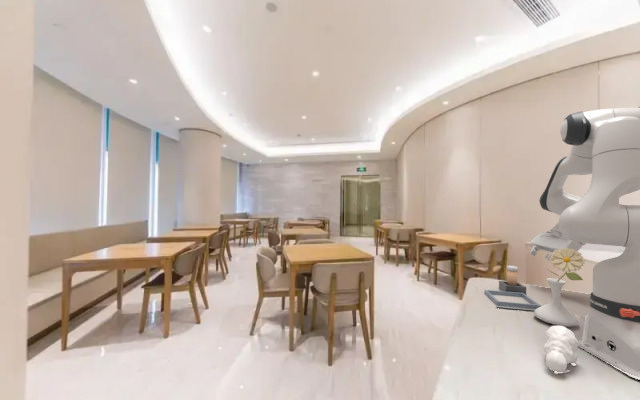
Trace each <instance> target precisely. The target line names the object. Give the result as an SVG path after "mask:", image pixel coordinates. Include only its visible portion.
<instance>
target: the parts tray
mask: <svg viewBox="0 0 640 400" xmlns="http://www.w3.org/2000/svg"><path fill="white" fill-rule="evenodd" d="M484 295H485V296H487V298H489V300H490V301H492V302H493V304H495V305H496V306H495V308H496V309H498V308H499V309H501V310H508V311H509V310H510V311H518V310H519V312H520V311H522V312H530V313H531V312H532V313H534V311H535V310H536V309H537V308H539V307H541V306H542V305H541V304H539V303H538V302H537V301H535V300H534V299H532V298H531V297H529V296H528V295H527V294H526V295H525V294H524V293H518V292H506V291H501V290H494V289H493V290H491V289H484ZM495 296H502V297H504V296H505V297H513V298H522V299H523V300H525V301H526V302H527V303H523V302H512V301H499V300H498V299H497V298H496V297H495Z"/></svg>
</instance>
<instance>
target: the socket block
mask: <svg viewBox="0 0 640 400" xmlns="http://www.w3.org/2000/svg"><path fill="white" fill-rule="evenodd" d="M498 290H499V291H506V292H518V293H524V294H525V295H527V287H526V286H525V285H523V284H522V283H520V282H519V281H517V286H510V285H507V280H498Z"/></svg>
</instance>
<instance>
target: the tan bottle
mask: <svg viewBox="0 0 640 400" xmlns="http://www.w3.org/2000/svg"><path fill="white" fill-rule="evenodd" d="M506 270H507V272H506V274H507V275H506V279H507V280H506V281H507V285H510V286H517V282H518V270H519V266H516V265H512V264H511V265H510V264H509V265H508V264H507V265H506Z"/></svg>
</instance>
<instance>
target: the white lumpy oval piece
mask: <svg viewBox="0 0 640 400" xmlns="http://www.w3.org/2000/svg"><path fill="white" fill-rule="evenodd" d="M545 336H546V340H547V341H546V343H545V344H544V346H543V352H544V354H546V356H545V361H544V360H542V362H543V363H544V364H545V365H546V367H549V368H551V369H552V370H554V371H557V372H565V373H569V372H570V371H571V370H570V369H569V370H568V369H567V368H568V367H567V366H568V365H570V364H569V363H575V364H577V361H578V356H576V355H575V352H576V351H578V348H579V346H578V345H579V342H578V341H579V340H578V339H577V337H576V335H575V333H574V332H573V331H572V330H571V329H569V328H567V327H566V326H558V325H551V326H549V328H548V330H546V331H545ZM549 368H548V369H549ZM551 369H550V370H551ZM552 370H551V371H552Z"/></svg>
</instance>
